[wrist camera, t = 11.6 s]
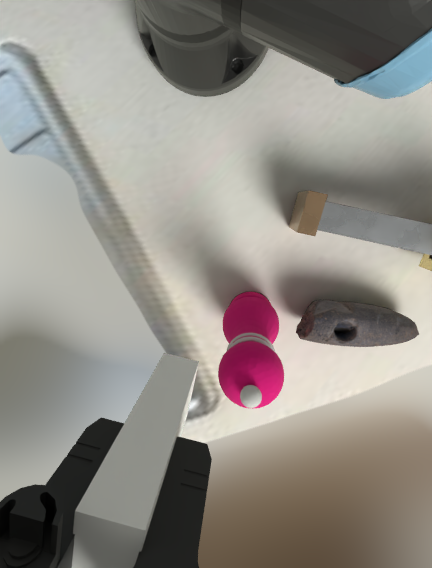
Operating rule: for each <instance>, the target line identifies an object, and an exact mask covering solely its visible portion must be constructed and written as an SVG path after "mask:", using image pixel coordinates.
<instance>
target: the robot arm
mask: <svg viewBox="0 0 432 568" xmlns="http://www.w3.org/2000/svg"><path fill="white" fill-rule="evenodd" d="M135 6H136V16H137V24H138V29H139V33H140V37H141V40H142V43H143V45H144V48H145V50H146V52H147V54H148V56H149V58H150V59H151V61H152V62H153V64H154V65H155V67H156V68H157V70H158V71H159V72H160V74H161V75H162V76H163V77H164V78H165V79H166V80H167V81H168V82H169V83H170V84H172V85H173V86H174V87H176V88H177V89H179V90H181V91H183V92H185V93H188V94H191V95H195V96H204V97H207V96H216V95H221V94H224V93H227V92H229V91H231V90H233V89H235V88H237V87H238V86H240V85H241V84H242V83H244V82H245V81H246V80H247V79H248V78H249V77H250V76H251V75H252V74H253V73H254V72H255V71H256V69H257V68H258V67H259V65H260V64H261V62H262V60H263V58H264V57H265V55H266V53H267V50H268V48H271V49H273V50H275V51H277V52H279V53H281V54H283V55H285V56H288V57H290V58H292V59H294V60H296V61H298V62H300V63H302V64H304V65H307V66H309V67H311V68H313V69H315V70H317V71H319V72H321V73H323V74H326V75H328V76H330V77H332V78H334V81H335V83H336V84H338V85H339V86H342V87H353V88H356V89H358V90H361V91H363V92H366V93H368V94H370V95H373V96H375V97H378V98H383V99H389V98H395V97H402V96H405V95H407V94H410V93H412V92H414V91H416V90H418V89H420V88H421V87H423V86H425V85H426V84H428V83H429V82H431V81H432V0H135ZM198 363H199V361H195V360H191V359H187V358H183V357H179V356H174V355H170V354H166V353H164V354H163V356H162V358H161V360H160V361H159V363H158V365H157V366H156V369H155V370H154V372H153V374H152V375H151V377H150V379H149V381H148V382H147V384H146V386H145V388H144V390H143V391H142V393H141V395H140V397H139V399H138V400H137V402H136V404H135V406H134V407H133V409H132V411H131V413H130V414H129V416H128V418H127V420H126V421H125V423H120V422H116V421H112V420H108V419H105V418H100V419H98V420H97V421H96V422H94V423H93V424H92V425H90V426H89V427H87V428H86V429H85V431H84V432H83V434H82V435H81V436H80V438H79V439H78V441H77V442H76V444H75V445H74V446H73V447H72V449H71V450H70V452H69V453H68V455H67V457H66V458H65V459H64V460H63V461H62V463H61V464H60V466H59V467H58V468H57V470H56V471H55V473H54V474H53V475H52V477H51V478H50V479H49V481H48V482H47V484H46V485H32V486H28V487H24V488H20V489H19V490H17V491H15V492H13V493H11V494H10V495H8V496H6V497H5V498H4V499H3V500H2V501H1V502H0V568H199V566H198V547H199V540H200V534H201V526H202V520H203V513H204V507H205V500H206V492H207V486H208V480H209V473H210V466H211V456H210V452H209V449H208V445H207V444H205V443H201V442H197V441H193V440H189V439H186V438H182V437H181V435H182V431H183V428H184V424H185V421H186V418H187V414H188V409H189V405H190V400H191V396H192V391H193V386H194V382H195V377H196V373H197V368H198Z"/></svg>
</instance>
